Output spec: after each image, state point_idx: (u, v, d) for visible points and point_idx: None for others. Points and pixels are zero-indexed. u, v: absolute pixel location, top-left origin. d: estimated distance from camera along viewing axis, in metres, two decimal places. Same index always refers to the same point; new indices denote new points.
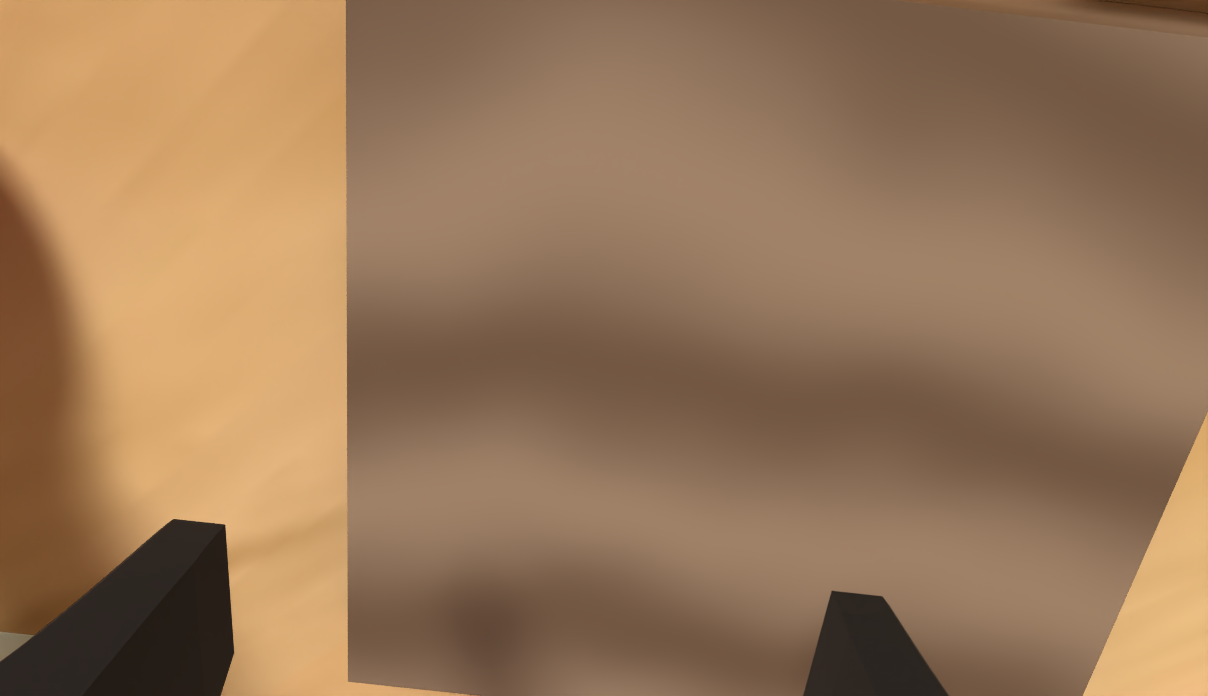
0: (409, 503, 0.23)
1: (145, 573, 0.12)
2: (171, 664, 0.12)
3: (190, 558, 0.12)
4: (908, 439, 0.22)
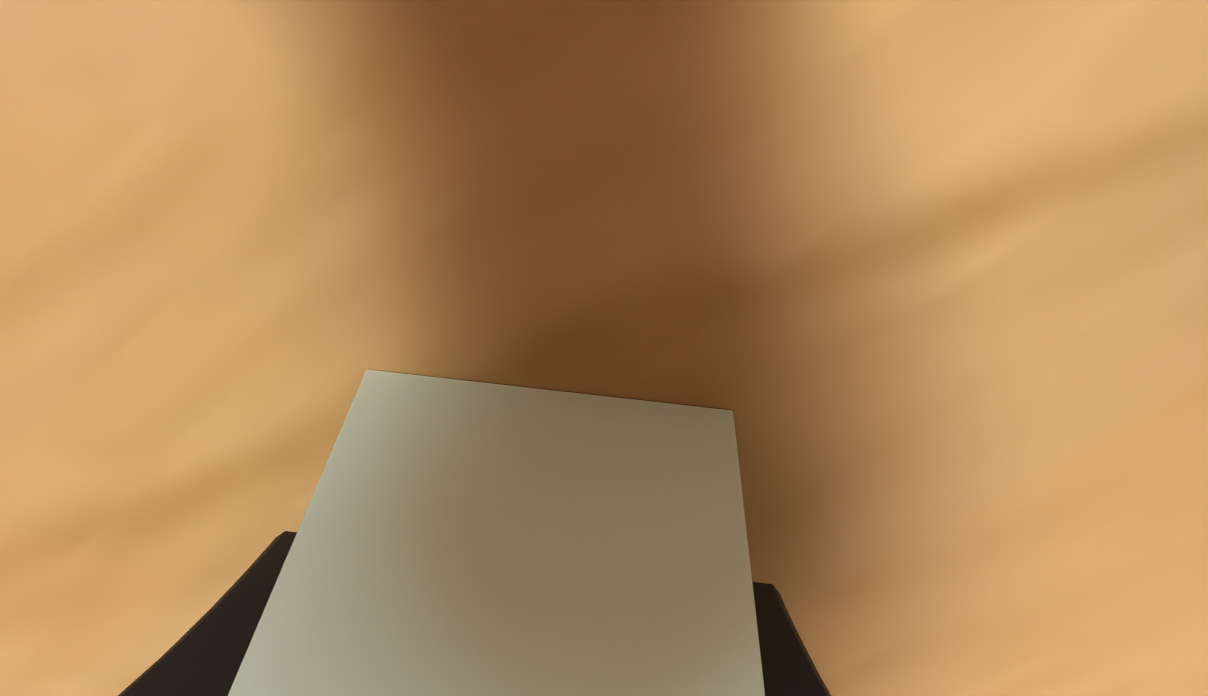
0: None
1: (269, 586, 0.12)
2: None
3: None
4: None
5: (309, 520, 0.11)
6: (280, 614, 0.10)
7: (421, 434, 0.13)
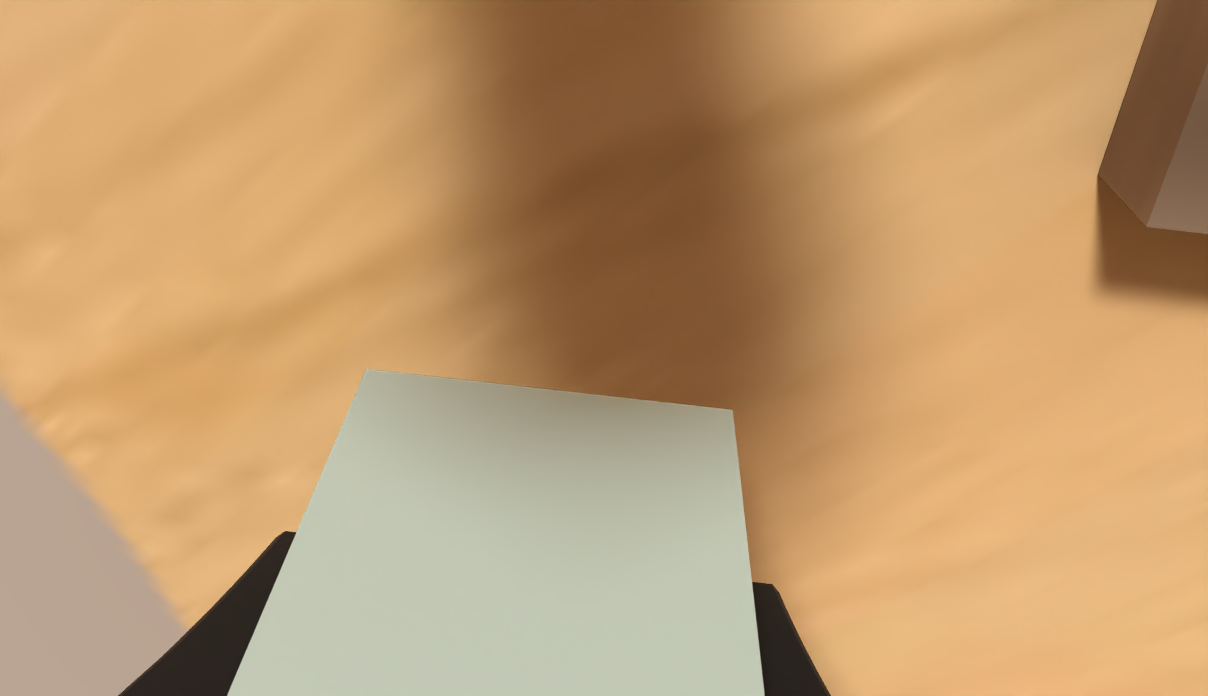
0: None
1: (269, 586, 0.12)
2: None
3: None
4: None
5: (309, 519, 0.11)
6: (279, 613, 0.10)
7: (421, 433, 0.13)
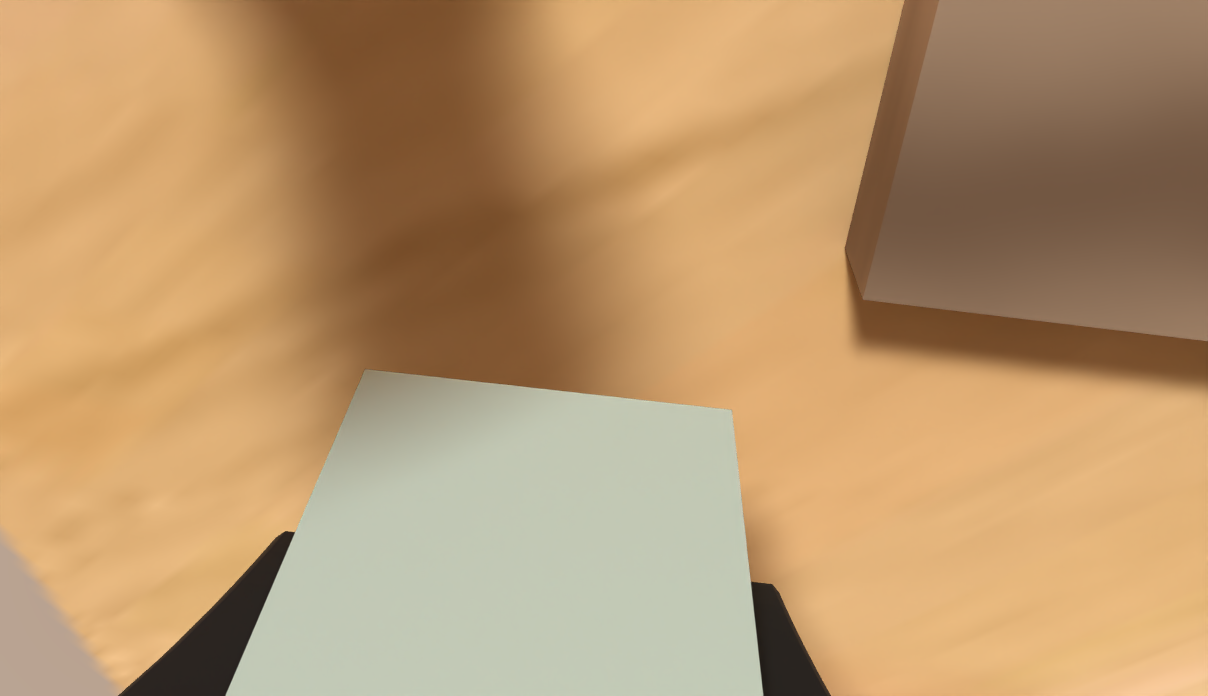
0: None
1: (269, 587, 0.12)
2: None
3: None
4: None
5: (307, 519, 0.11)
6: (278, 614, 0.10)
7: (420, 433, 0.13)
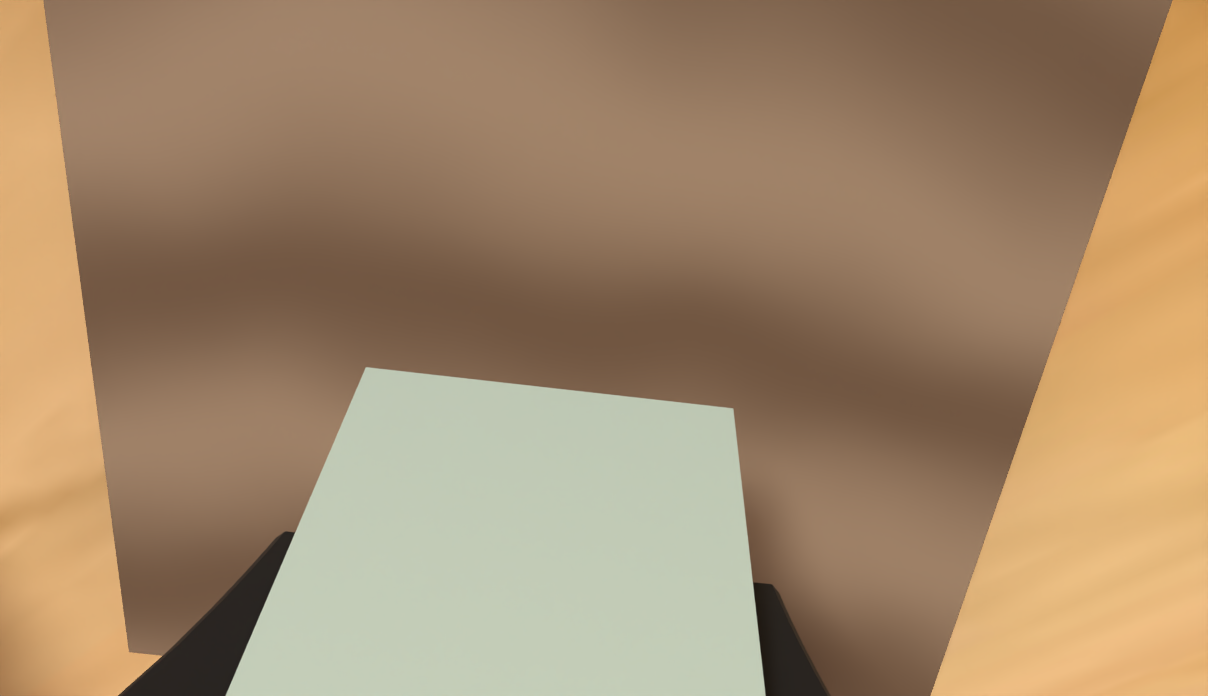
0: (171, 448, 0.21)
1: (269, 586, 0.12)
2: None
3: None
4: (720, 372, 0.19)
5: (309, 518, 0.11)
6: (280, 612, 0.10)
7: (421, 432, 0.13)
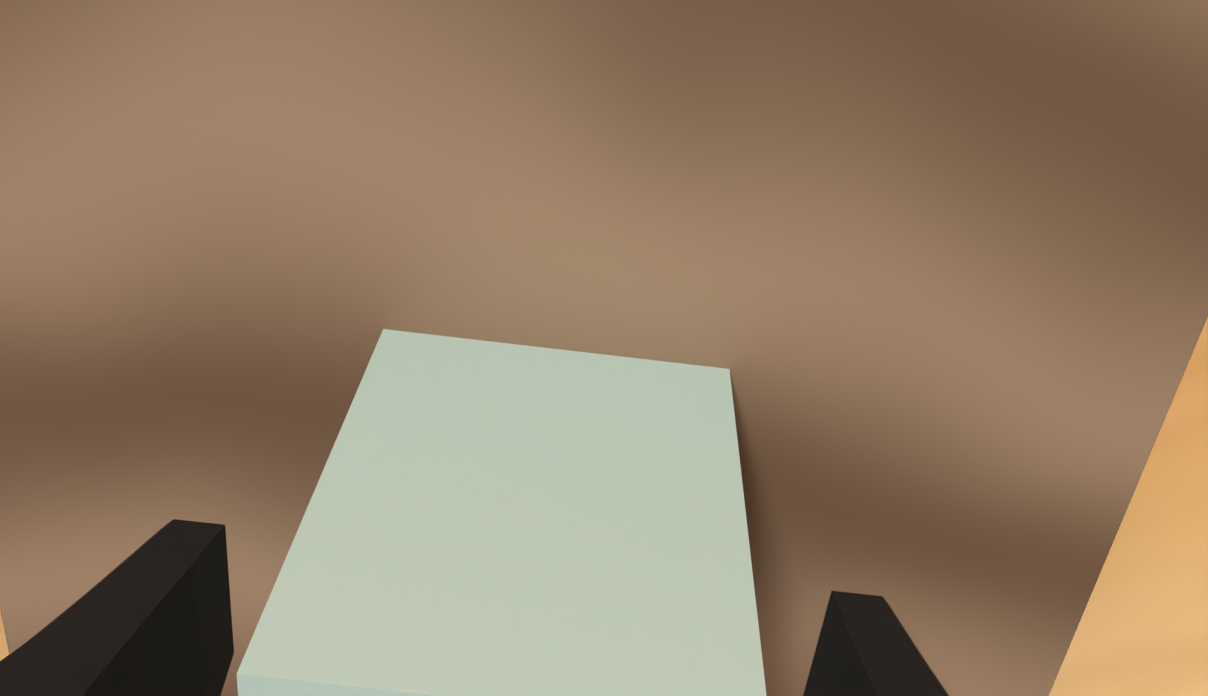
0: (78, 592, 0.17)
1: (145, 573, 0.12)
2: (171, 664, 0.12)
3: (190, 558, 0.12)
4: None
5: (333, 461, 0.12)
6: (309, 541, 0.11)
7: (436, 387, 0.14)
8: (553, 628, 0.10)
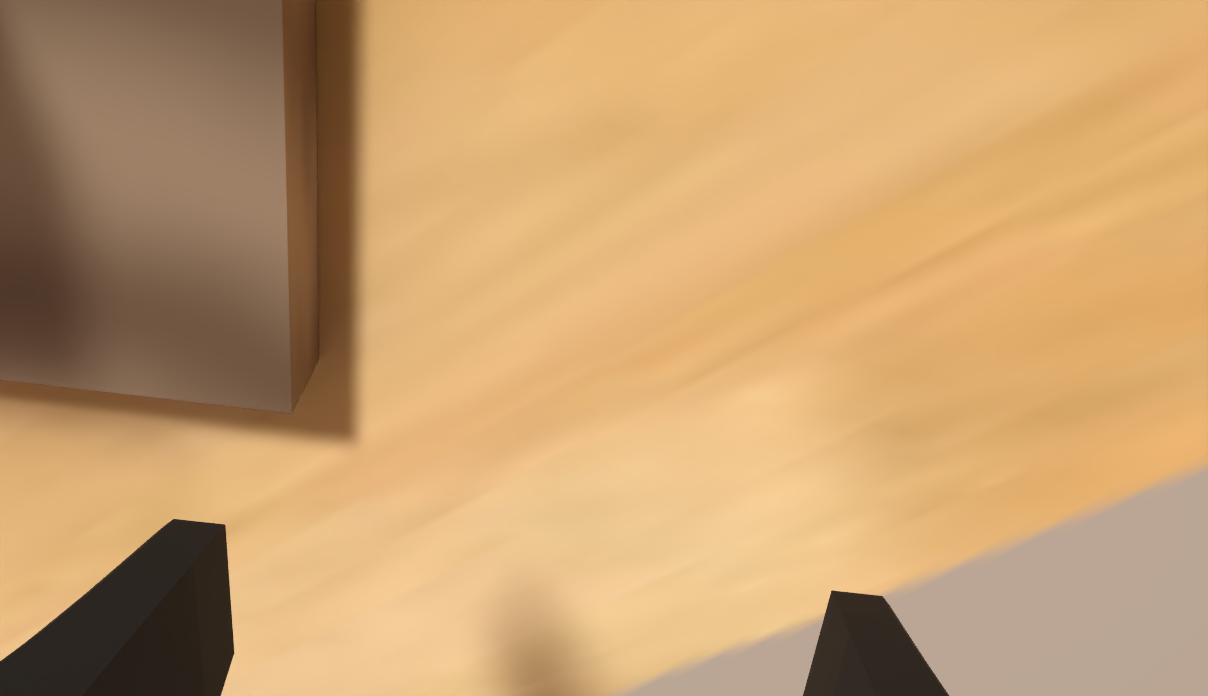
0: None
1: (145, 573, 0.12)
2: (171, 664, 0.12)
3: (190, 558, 0.12)
4: None
5: None
6: None
7: None
8: None
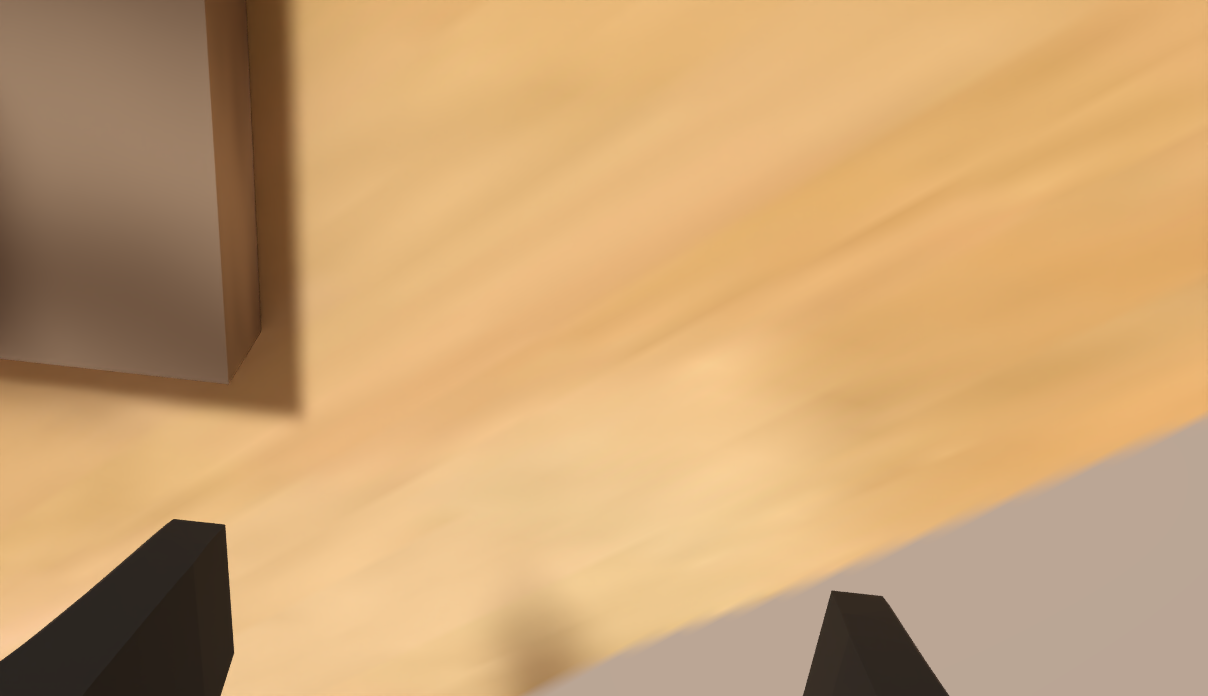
0: None
1: (145, 573, 0.12)
2: (171, 664, 0.12)
3: (190, 558, 0.12)
4: None
5: None
6: None
7: None
8: None
